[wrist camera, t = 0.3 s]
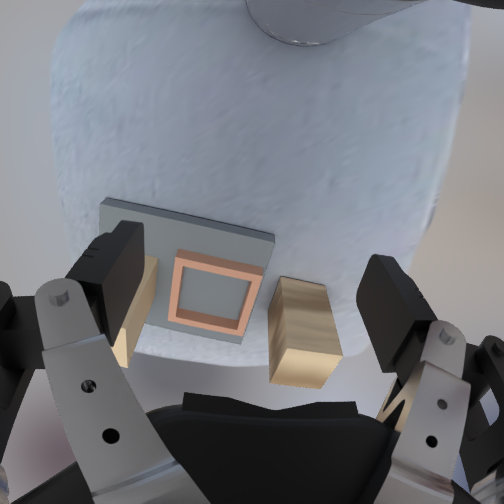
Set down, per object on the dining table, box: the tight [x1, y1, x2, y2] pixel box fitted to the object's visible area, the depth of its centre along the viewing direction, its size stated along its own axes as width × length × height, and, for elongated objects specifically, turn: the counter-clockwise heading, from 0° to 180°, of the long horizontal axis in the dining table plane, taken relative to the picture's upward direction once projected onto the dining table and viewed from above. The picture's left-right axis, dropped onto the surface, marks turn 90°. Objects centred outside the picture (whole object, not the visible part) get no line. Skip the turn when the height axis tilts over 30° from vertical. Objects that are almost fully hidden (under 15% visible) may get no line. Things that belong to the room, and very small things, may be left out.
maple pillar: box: [268, 277, 343, 389], centre depth 30 cm, size 5×5×10 cm
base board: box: [99, 198, 275, 368], centre depth 28 cm, size 14×17×12 cm
